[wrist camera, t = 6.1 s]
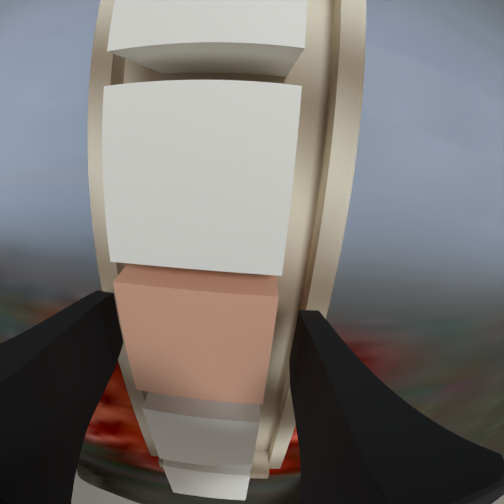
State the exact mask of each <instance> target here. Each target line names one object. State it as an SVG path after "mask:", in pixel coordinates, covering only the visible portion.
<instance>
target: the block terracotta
mask: <svg viewBox="0 0 504 504" xmlns="http://www.w3.org/2000/svg"><path fill="white" fill-rule="evenodd" d="M113 285H114V291H115V297H116V303H117V308H118V313H119V318H120V323H121V328H122V333H123V338H124V342H125V346H126V351H127V355H128V359H129V363H130V367H131V371H132V375H133V378H134V382H135V386H136V389H137V390H142V391H147V392H153V393H158V394H165V395H171V396H178V397H185V398H193V399H201V400H210V401H220V402H232V403H245V404H263V399H264V393H265V387H266V380H267V374H268V368H269V361H270V354H271V348H272V341H273V334H274V327H275V320H276V313H277V306H278V299H279V295H278V285H277V275H263V274H249V273H235V272H222V271H210V270H197V269H185V268H174V267H162V266H151V265H140V264H130V263H128V264H127V265H126V266H125V268H124V269H123V270H122V271H121V272H120V274H119V275H118V276H117V277H116V279H115V280H114V281H113Z"/></svg>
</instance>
